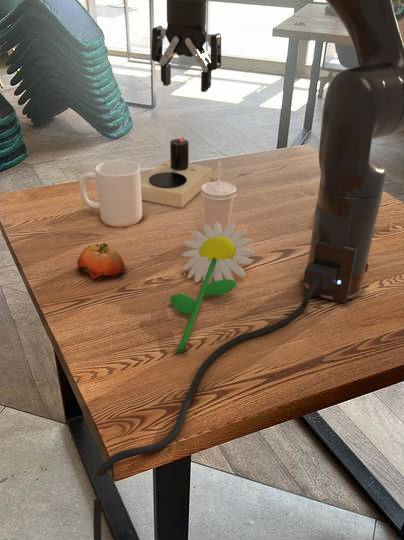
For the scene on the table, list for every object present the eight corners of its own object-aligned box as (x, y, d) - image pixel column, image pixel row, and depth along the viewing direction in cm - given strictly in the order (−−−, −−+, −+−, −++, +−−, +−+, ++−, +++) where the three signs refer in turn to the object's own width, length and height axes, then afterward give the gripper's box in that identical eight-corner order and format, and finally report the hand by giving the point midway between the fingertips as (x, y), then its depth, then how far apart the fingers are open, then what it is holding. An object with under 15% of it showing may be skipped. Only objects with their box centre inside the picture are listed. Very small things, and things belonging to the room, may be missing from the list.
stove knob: (184, 171, 125) (183, 144, 121) (167, 168, 126) (166, 141, 122) (191, 165, 128) (191, 139, 124) (175, 162, 129) (174, 136, 125)
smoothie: (234, 230, 110) (238, 158, 101) (232, 246, 105) (237, 171, 96) (201, 228, 110) (202, 156, 102) (198, 244, 105) (199, 169, 97)
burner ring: (176, 190, 117) (176, 189, 117) (142, 184, 119) (142, 182, 119) (192, 177, 123) (192, 175, 122) (159, 171, 125) (159, 169, 125)
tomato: (127, 276, 93) (94, 243, 90) (97, 302, 95) (65, 271, 93) (132, 259, 100) (102, 228, 97) (104, 283, 102) (74, 254, 99)
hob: (181, 207, 118) (181, 193, 116) (134, 198, 121) (133, 183, 119) (213, 178, 130) (213, 165, 128) (169, 171, 133) (169, 157, 131)
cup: (137, 228, 110) (134, 177, 103) (77, 224, 111) (70, 173, 104) (146, 210, 116) (143, 161, 110) (88, 206, 117) (82, 157, 111)
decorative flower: (225, 370, 81) (261, 247, 101) (223, 346, 77) (261, 224, 97) (140, 359, 84) (191, 242, 103) (134, 335, 80) (189, 218, 100)
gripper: (143, -6, 106) (146, 87, 117) (213, 1, 102) (210, 98, 112) (161, -11, 111) (162, 79, 122) (229, -4, 107) (224, 88, 118)
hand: (185, 88), depth 117 cm, fingers open, 8 cm apart
